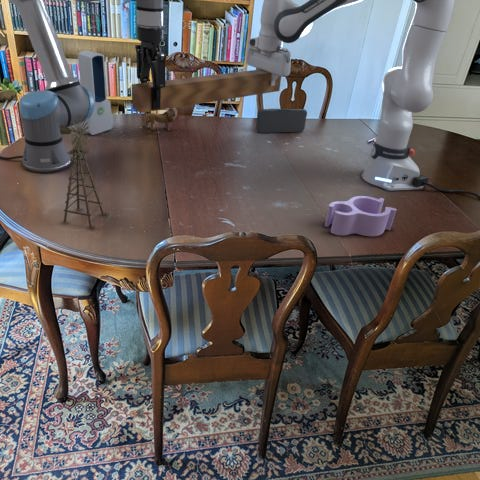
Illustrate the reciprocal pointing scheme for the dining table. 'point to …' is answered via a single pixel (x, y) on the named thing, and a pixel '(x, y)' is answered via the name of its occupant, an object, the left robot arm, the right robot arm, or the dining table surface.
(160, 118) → the lion figurine
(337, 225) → the clip
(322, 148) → the dining table surface
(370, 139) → the sword
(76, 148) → the miniature windmill
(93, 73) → the electronic device
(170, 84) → the bar
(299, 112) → the handheld gaming console
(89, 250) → the dining table surface
